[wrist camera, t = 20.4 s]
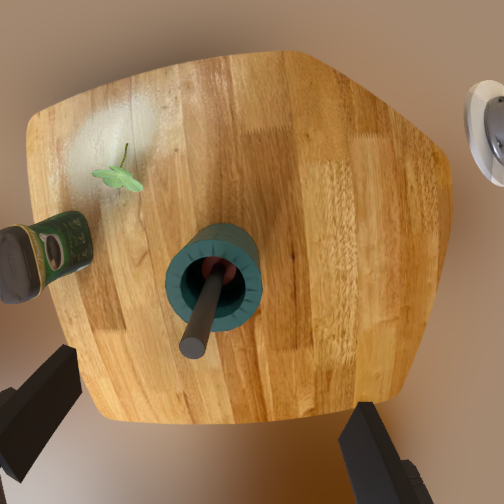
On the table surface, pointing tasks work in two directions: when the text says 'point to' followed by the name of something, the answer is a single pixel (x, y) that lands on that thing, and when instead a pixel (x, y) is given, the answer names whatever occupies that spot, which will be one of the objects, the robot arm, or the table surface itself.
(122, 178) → the seedling
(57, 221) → the coffee jar
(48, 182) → the table surface
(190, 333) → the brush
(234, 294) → the cup
